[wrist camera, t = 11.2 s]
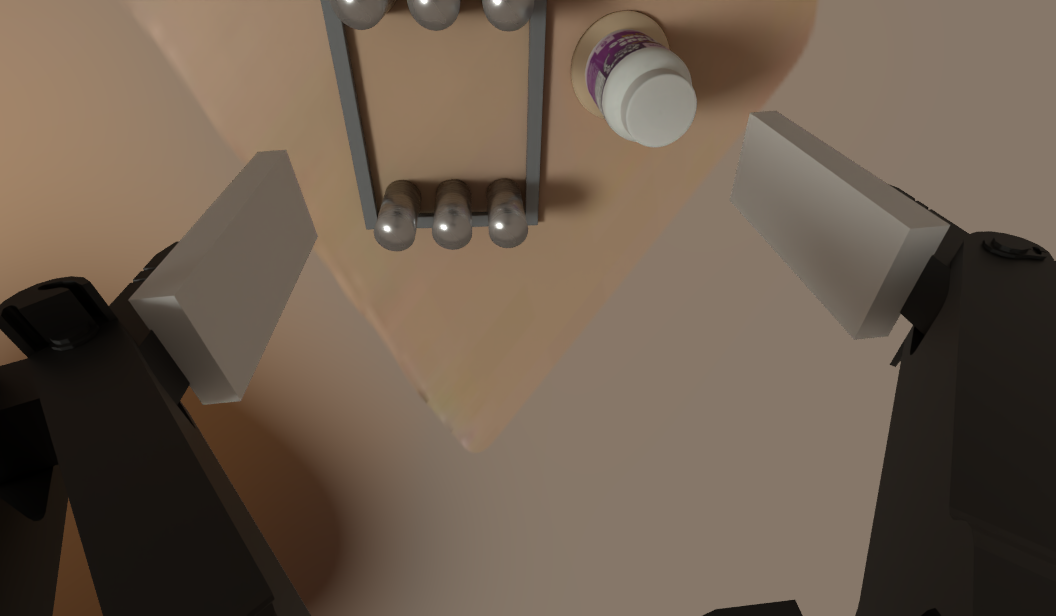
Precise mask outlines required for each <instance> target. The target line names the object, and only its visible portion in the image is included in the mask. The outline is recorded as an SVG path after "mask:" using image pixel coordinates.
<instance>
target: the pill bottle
mask: <svg viewBox="0 0 1056 616" xmlns="http://www.w3.org/2000/svg"><path fill="white" fill-rule="evenodd" d="M585 81H586V86H587V89H588V92H589V94H590V96H591V97H592V99H593V101H594V102H595V104H596V105H597V107H598V108H599V110H600V112H601V113H602V115H603V116H604V118H605V119H606V121H607V123H608V125H609V126H610V127H611V128H612V129H613V130H614V131H615V132H616V133H617V134H618V135H619V136H621V137H623V138H625V139H627V140H630V141H634V142H638V143H640V144H642V145H644V146H648V147H662V146H666V145H668V144H671V143H673V142H674V141H676V140H677V139H679V138H680V137H681V136H682V135H683V134H684V133H685V132H686V131H687V130H688V128H689V127H690V125H691V124H692V122H693V119H694V117H695V113H696V108H697V98H696V94H695V91H694V89H693V87H692V80H691V75H690V73H689V70H688V68H687V66H686V65H685V63H684V62H683V61H682V60H681V59H680V58H679V57H678V56H677V55H676V54H675V53H673V52H672V51H670V50H669V49H668V48H666V47H665V46H663V45H662V44H661V43H659V42H657V41H656V40H654V39H653V38H651V37H650V36H648V35H646V34H645V33H643V32H641V31H638V30H634V29H620V30H616V31H614V32H612V33H610V34H608V35H606V36H605V37H604V38H602V39H601V40H600V41H599V42H598V43H597V45H596V46H595V47H594V48H593V50H592V52H591V54H590V56H589V58H588V61H587V65H586V69H585Z"/></svg>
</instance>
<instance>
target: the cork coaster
mask: <svg viewBox="0 0 1056 616" xmlns="http://www.w3.org/2000/svg"><path fill="white" fill-rule="evenodd" d="M620 29H634V30H638V31H641V32H643V33H645V34H646V35H648V36H650V37H651V38H653V39H654V40H656V41H657V42H659V43H661V44H662V45H663V46H665V47H666V48H668V49H669V50H670V48H669V44H668V41H667V38H666V36H665V34H664V32H663V30H662V29H661V28H660V26H659V25H658V24H657V23H656V22H655V21H654V20H653V19H651V18H650V17H648V16H646V15H644V14H642V13H639V12H635V11H618V12H613V13H611V14H608V15H606V16H604V17H602V18H600V19H599V20H597V21H596V22H595V23H593V24H592V25H591V26H590V27H589V28H588V29H587V31H586V32H585V33H584V34H583V36H582V37H581V39H580V40H579V42H578V44H577V46H576V49H575V51H574V54H573V58H572V64H571V80H572V85H573V89H574V91H575V94H576V96H577V98H578V99H579V101H580V102H581V104H582V105H583V106H584V107H585V108H586V109H587V110H588V111H589V112H590V113H592V114H594V115H595V116H597V117H600V118H603V119H605V118H604V116H603V115H602V113H601V112H600V110H599V108H598V107H597V105H596V104H595V102H594V101H593V99H592V97H591V96H590V94H589V92H588V89H587V86H586V81H585V69H586V65H587V61H588V58H589V56H590V54H591V52H592V50H593V48H594V47H595V46H596V45H597V43H598V42H599V41H600V40H601V39H602V38H604V37H605V36H606V35H608V34H610V33H612V32H614V31H616V30H620Z"/></svg>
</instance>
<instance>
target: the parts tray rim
mask: <svg viewBox="0 0 1056 616" xmlns="http://www.w3.org/2000/svg"><path fill="white" fill-rule="evenodd" d="M321 4H322V9H323V14H324V19H325V24H326V29H327V34H328V39H329V44H330V49H331V54H332V59H333V64H334V69H335V74H336V79H337V84H338V89H339V94H340V99H341V104H342V110H343V115H344V120H345V125H346V130H347V135H348V140H349V145H350V150H351V155H352V160H353V165H354V170H355V175H356V180H357V185H358V190H359V195H360V200H361V205H362V210H363V215H364V220H365V225H366V229H374V227H375V224H376V221H377V218H378V211H377V206H376V200H375V195H374V189H373V183H372V178H371V172H370V167H369V161H368V156H367V150H366V145H365V139H364V133H363V128H362V122H361V117H360V111H359V106H358V100H357V94H356V89H355V83H354V78H353V72H352V67H351V61H350V55H349V50H348V44H347V39H346V33H345V28H344V23H343V22H342V21H341V20H340V19H339V18H338V17H337V15H336V14H335V12H334V11H333V9H332V6H331V4H330V0H321ZM546 4H547V0H534V8H533V12H532V15H531V17H530V26H529V70H528V114H527V158H526V202H525V216H526V221H527V225H538V202H539V177H540V153H541V128H542V103H543V78H544V53H545V29H546ZM433 218H434V213H426V214H419V216H418V222H417V228H432V227H433ZM482 226H488V212H472V227H482Z"/></svg>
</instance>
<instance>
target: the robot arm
mask: <svg viewBox="0 0 1056 616" xmlns="http://www.w3.org/2000/svg"><path fill="white" fill-rule="evenodd" d="M730 201H731V202H732V204H733V205H734V206H735V207H736V208H737V209H738V210H739V211H740V212H741V213H742V215H743V216H744V217H745V218H746V219H747V220H748V221H749V223H751V225H752V226H753V227H754V228H755V229H756V230H757V231H758V233H759V234H760V235H761V236H762V237H763V238H764V239H765V240H766V242H767V243H768V244H769V245H770V246H771V247H772V248H773V249H774V250H775V252H776V253H777V254H778V255H779V256H780V257H781V258H782V259H783V260H784V262H785V263H786V264H787V265H788V266H789V267H790V268H791V269H792V270H793V272H794V273H795V274H796V275H797V276H798V277H799V278H800V280H801V281H802V282H803V283H804V284H805V285H806V286H807V287H808V288H809V290H810V291H811V292H812V293H813V294H814V295H815V296H816V297H817V299H818V300H819V301H820V302H821V303H822V304H823V305H824V306H825V307H826V309H827V310H828V311H829V312H830V313H831V314H832V315H833V316H834V317H835V319H836V320H837V321H838V322H839V323H840V324H841V325H842V326H843V327H844V329H845V330H846V331H847V332H848V333H849V334H850V335H851V337H852V338H853V339H864V338H874V337H884V336H888V335H889V333H890V332H891V330H892V328H893V326H894V325H895V323H896V321H897V319H898V318H899V316H900V314H902V315H903V316H904V317H905V318H906V319H907V320H908V321H910V322H911V323H912V324H913V327H912V328H911V330H910V332H909V333H908V335H907V337H906V338H905V340H904V342H903V343H902V345H901V347H900V348H899V350H898V352H897V353H896V355H895V357H894V358H893V360H892V362H891V363H890V365H892V366H895V367H896V366H897V364H898V363H899V362H900V361H901V365H900V370H899V376H898V382H897V387H896V393H895V400H894V405H893V411H892V416H891V422H890V428H889V434H888V440H887V445H886V451H885V457H884V463H883V469H882V474H881V480H880V486H879V492H878V497H877V503H876V509H875V515H874V520H873V526H872V532H871V538H870V544H869V549H868V555H867V561H866V567H865V573H864V579H863V584H862V590H861V596H860V601H859V605H858V609H857V612H856V615H855V616H1056V261H1054V259H1053V258H1052V256H1051V255H1050V253H1049V252H1048V251H1047V250H1045V249H1044V248H1043V247H1041V246H1039V245H1037V244H1035V243H1033V242H1031V241H1028V240H1026V239H1023V238H1020V237H1017V236H1013V235H1009V234H1005V233H998V232H975V233H972V234H969V233H967V232H966V231H964V230H962V229H961V228H959V227H958V226H956V225H955V224H953V223H952V222H950V221H948V220H947V219H945V218H944V217H942V216H941V215H939V214H937V213H936V212H935V211H933V210H928V207H927V206H925V205H924V204H922V203H921V202H919V201H915V198H913V197H912V196H910V195H908V194H907V193H905V192H904V191H902V190H901V189H899V188H897V187H894V186H892V185H889V184H887V183H886V182H884V181H882V180H881V179H879V178H878V177H876V176H875V175H873V174H872V173H870V172H869V171H867V170H866V169H864V168H863V167H861V166H860V165H858V164H856V163H855V162H853V161H852V160H850V159H849V158H847V157H846V156H844V155H843V154H841V153H840V152H838V151H837V150H835V149H834V148H832V147H830V146H829V145H828V144H826V143H824V142H823V141H821V140H820V139H818V138H817V137H815V136H814V135H812V134H811V133H809V132H808V131H806V130H804V129H803V128H802V127H800V126H798V125H797V124H795V123H794V122H792V121H791V120H789V119H788V118H786V117H785V116H783V115H782V114H780V113H779V112H777V111H767V112H754V113H750V115H749V119H748V124H747V128H746V132H745V137H744V141H743V145H742V150H741V154H740V158H739V162H738V167H737V171H736V176H735V180H734V184H733V188H732V193H731V197H730ZM317 237H318V236H317V233H316V230H315V227H314V225H313V222H312V219H311V217H310V214H309V211H308V208H307V206H306V203H305V200H304V197H303V195H302V192H301V189H300V187H299V184H298V181H297V178H296V176H295V173H294V170H293V167H292V165H291V162H290V159H289V156H288V154H287V151H286V150H277V151H264V152H257V154H256V155H255V156H254V157H253V158H252V159H251V160H250V162H249V163H248V164H247V165H246V166H245V167H244V168H243V170H242V171H241V172H240V173H239V174H238V175H237V176H236V177H235V179H234V180H233V181H232V182H231V183H230V184H229V185H228V187H227V188H226V189H225V190H224V191H223V192H222V193H221V195H220V196H219V197H218V198H217V199H216V201H214V203H213V204H212V205H211V206H210V207H209V208H208V209H207V211H206V212H205V213H204V214H203V215H202V216H201V217H200V219H199V220H198V221H197V222H196V223H195V224H194V226H193V227H192V228H191V229H190V230H189V231H188V232H187V234H186V235H185V236H184V237H183V238H182V239H181V240H180V241H179V242H175V243H173V244H172V245H170V246H169V247H167V248H166V249H164V250H163V251H161V252H159V253H158V254H156V255H155V256H154V257H153V258H152V259H151V261H150V262H149V263H148V264H147V265H146V266H145V267H144V268H143V269H144V271H141V272H140V273H139V274H138V275H137V276H136V277H135V278H134V279H133V283H130V284H129V285H128V286H127V287H126V288H125V289H124V290H123V291H122V293H120V295H119V296H118V297H117V298H116V299H115V300H114V301H113V302H112V303H111V304H110V306H108V305H107V303H106V302H105V301H104V299H103V298H102V297H101V296H100V294H99V293H98V292H97V290H96V289H95V288H94V286H93V285H92V284H91V282H90V281H88V280H87V279H85V278H84V277H72V276H71V277H64V278H57V279H52V280H49V281H46V282H42V283H39V284H36V285H34V286H31V287H29V288H27V289H25V290H22V291H20V292H18V293H16V294H15V295H13V296H12V297H10V298H8V299H7V300H5V301H4V302H3V303H2V304H0V329H1V330H2V331H3V332H4V333H5V334H6V335H7V336H8V338H9V339H11V341H12V342H13V343H14V344H15V345H16V346H17V347H18V348H19V349H20V350H21V351H22V352H23V353H24V354H25V355H26V356H27V357H28V358H27V359H24V360H20V361H17V362H13V363H10V364H6V365H2V366H0V616H52V614H53V607H54V600H55V592H56V584H57V577H58V570H59V562H60V555H61V547H62V540H63V532H64V525H65V517H66V510H67V503H68V497H69V501H70V504H71V507H72V511H73V514H74V518H75V521H76V525H77V528H78V532H79V535H80V538H81V542H82V545H83V548H84V552H85V555H86V559H87V562H88V566H89V569H90V572H91V576H92V579H93V583H94V586H95V590H96V593H97V597H98V600H99V603H100V607H101V610H102V613H103V616H311V615H310V613H309V611H308V610H307V608H306V606H305V605H304V603H303V601H302V600H301V598H300V597H299V595H298V593H297V591H296V590H295V588H294V586H293V585H292V583H291V582H290V580H289V578H288V577H287V575H286V573H285V572H284V570H283V568H282V567H281V565H280V563H279V562H278V560H277V558H276V557H275V555H274V553H273V552H272V550H271V548H270V547H269V545H268V543H267V542H266V540H265V538H264V537H263V535H262V533H261V532H260V530H259V529H258V527H257V525H256V523H255V522H254V520H253V518H252V517H251V515H250V513H249V512H248V510H247V509H246V507H245V505H244V503H243V502H242V500H241V498H240V497H239V495H238V493H237V492H236V490H235V489H234V487H233V485H232V484H231V482H230V480H229V479H228V477H227V475H226V474H225V472H224V470H223V469H222V467H221V465H220V464H219V462H218V460H217V459H216V457H215V455H214V454H213V452H212V450H211V449H210V447H209V446H208V444H207V442H206V440H205V439H204V437H203V436H202V434H201V432H200V430H199V429H198V427H197V426H196V424H195V422H194V420H193V419H192V417H191V415H190V414H189V412H188V411H187V409H186V408H185V407H184V406H183V404H182V403H181V401H180V400H181V398H182V396H183V395H184V393H185V391H186V390H187V388H188V386H190V387H191V388H192V390H193V391H194V392H195V394H196V395H197V397H198V398H199V399H200V401H201V402H202V404H203V405H204V404H215V403H225V402H235V401H241V400H242V397H243V395H244V393H245V391H246V389H247V387H248V384H249V382H250V380H251V378H252V376H253V374H254V371H255V370H256V367H257V365H258V363H259V361H260V359H261V357H262V355H263V352H264V350H265V348H266V346H267V344H268V342H269V340H270V337H271V335H272V333H273V331H274V329H275V327H276V325H277V322H278V320H279V318H280V316H281V314H282V311H283V310H284V307H285V305H286V303H287V301H288V299H289V297H290V294H291V292H292V290H293V288H294V286H295V284H296V282H297V280H298V277H299V275H300V273H301V271H302V269H303V266H304V264H305V262H306V260H307V258H308V256H309V254H310V252H311V250H312V247H313V245H314V243H315V241H316V239H317ZM703 616H802V614H801V611H800V609H799V607H798V605H797V603H796V601H795V600H789V601H781V602H773V603H764V604H757V605H748V606H740V607H731V608H723V609H716V610H714V611H712V612H709V613H707V614H705V615H703Z"/></svg>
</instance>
